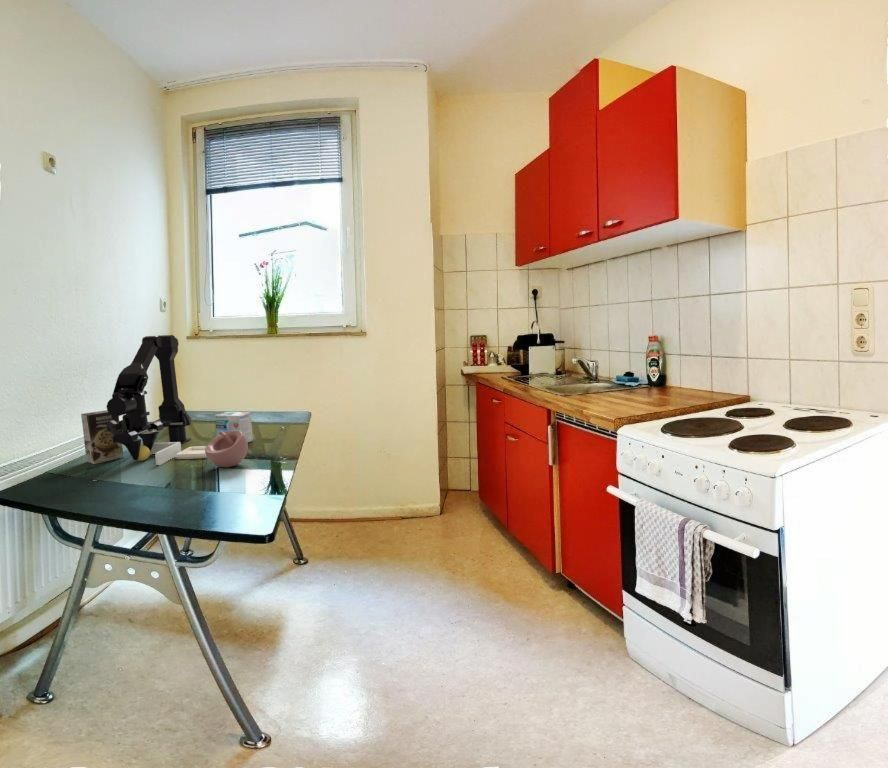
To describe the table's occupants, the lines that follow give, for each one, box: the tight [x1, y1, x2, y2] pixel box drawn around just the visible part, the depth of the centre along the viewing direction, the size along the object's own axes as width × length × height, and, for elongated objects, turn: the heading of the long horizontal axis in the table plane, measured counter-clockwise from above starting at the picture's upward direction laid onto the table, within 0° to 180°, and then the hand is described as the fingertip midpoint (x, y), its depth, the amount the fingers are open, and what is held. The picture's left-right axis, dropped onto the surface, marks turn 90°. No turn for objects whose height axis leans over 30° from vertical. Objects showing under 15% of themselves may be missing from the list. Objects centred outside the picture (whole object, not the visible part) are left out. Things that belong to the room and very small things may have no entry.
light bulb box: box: [214, 411, 254, 444], centre depth 189 cm, size 11×7×11 cm, turn 73°
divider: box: [150, 441, 182, 466], centre depth 169 cm, size 14×12×4 cm
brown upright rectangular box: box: [80, 409, 124, 465], centre depth 172 cm, size 9×6×16 cm
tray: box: [174, 445, 208, 460], centre depth 174 cm, size 10×10×2 cm
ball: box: [137, 444, 151, 462], centre depth 169 cm, size 5×5×5 cm
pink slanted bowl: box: [205, 430, 249, 468], centre depth 157 cm, size 12×12×12 cm
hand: (141, 457), depth 169 cm, fingers open, 6 cm apart
